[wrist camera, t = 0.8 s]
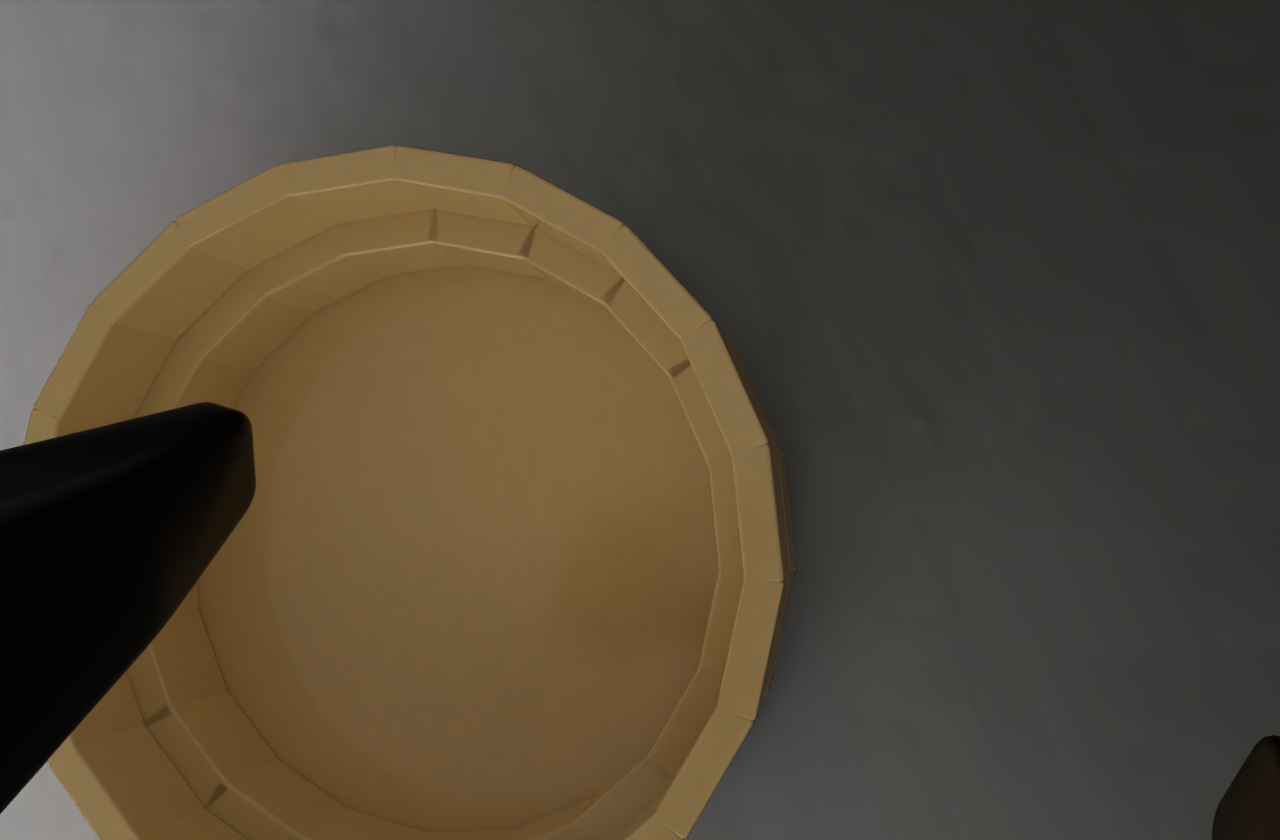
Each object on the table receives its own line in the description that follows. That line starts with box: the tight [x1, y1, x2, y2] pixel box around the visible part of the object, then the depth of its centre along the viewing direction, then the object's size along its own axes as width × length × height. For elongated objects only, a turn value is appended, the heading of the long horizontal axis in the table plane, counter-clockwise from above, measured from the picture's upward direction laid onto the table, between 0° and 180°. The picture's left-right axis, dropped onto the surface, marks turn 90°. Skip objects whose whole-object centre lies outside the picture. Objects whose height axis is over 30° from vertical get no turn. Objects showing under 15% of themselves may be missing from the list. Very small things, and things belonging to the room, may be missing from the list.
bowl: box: [24, 145, 796, 840], centre depth 23 cm, size 15×15×5 cm
